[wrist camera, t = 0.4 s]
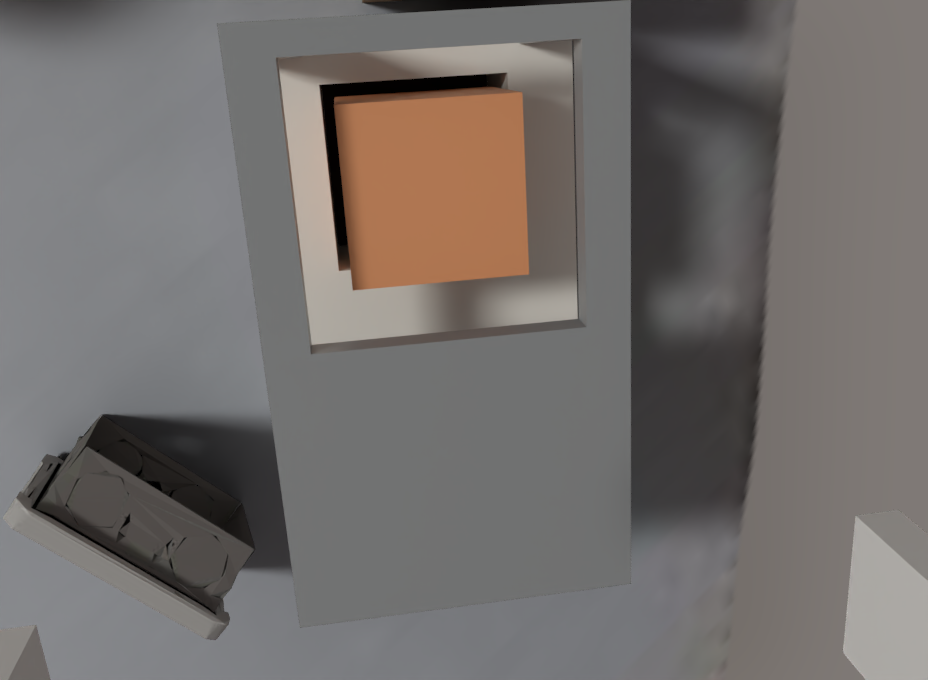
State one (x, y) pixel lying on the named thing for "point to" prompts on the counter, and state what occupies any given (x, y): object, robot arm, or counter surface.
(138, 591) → the electrical switch
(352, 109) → the orange cube
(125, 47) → the counter surface
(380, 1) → the holder
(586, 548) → the grey frame
